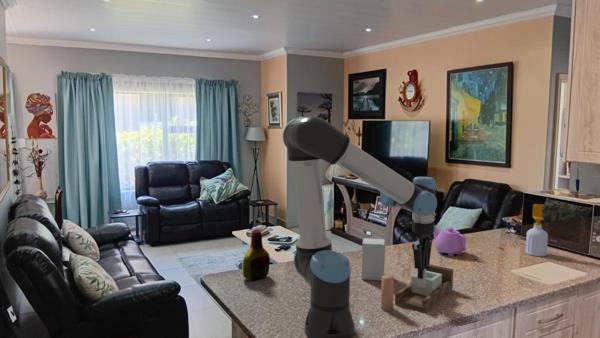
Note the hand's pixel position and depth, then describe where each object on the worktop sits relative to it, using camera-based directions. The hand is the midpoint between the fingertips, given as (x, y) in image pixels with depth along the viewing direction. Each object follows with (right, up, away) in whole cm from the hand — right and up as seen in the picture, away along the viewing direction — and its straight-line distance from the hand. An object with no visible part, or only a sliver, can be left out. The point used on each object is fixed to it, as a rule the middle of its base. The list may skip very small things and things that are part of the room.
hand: (421, 286), depth 160 cm
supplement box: (-13, -3, +25) cm, 28 cm away
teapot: (+29, +1, +59) cm, 66 cm away
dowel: (-14, -6, -7) cm, 16 cm away
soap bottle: (+71, 0, +58) cm, 92 cm away
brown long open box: (+2, -5, +4) cm, 6 cm away
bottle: (-61, -3, +22) cm, 65 cm away
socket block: (+3, -3, +5) cm, 6 cm away
